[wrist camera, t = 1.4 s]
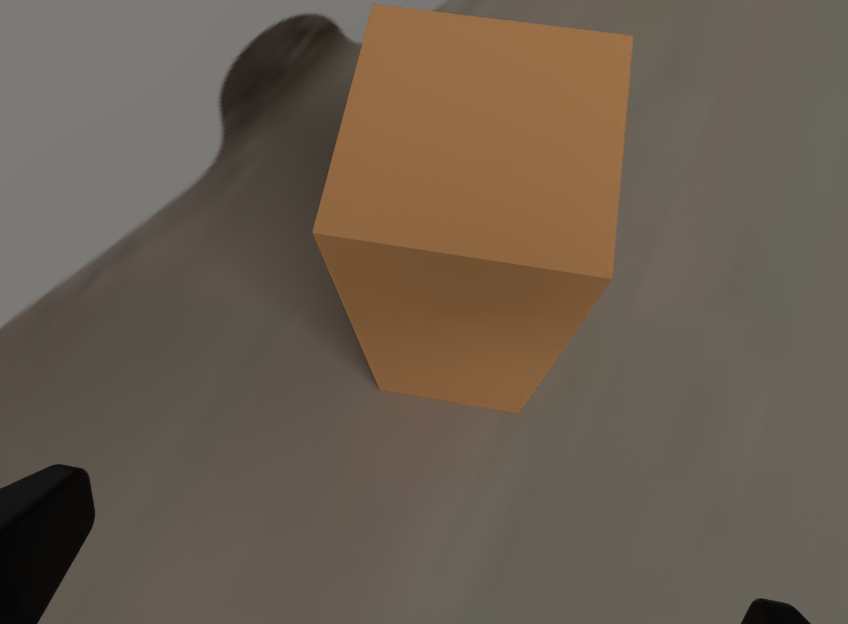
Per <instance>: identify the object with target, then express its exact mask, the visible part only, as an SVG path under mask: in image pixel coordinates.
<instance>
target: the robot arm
mask: <svg viewBox="0 0 848 624" xmlns="http://www.w3.org/2000/svg"><path fill="white" fill-rule="evenodd" d="M94 519H95V508H94V502H93V496H92V490H91V484H90V478H89V475H88V473H87V472H86V471H85V470H84V469H82V468H78V467H72V466H67V465H62V464H56V465H52V466H49V467H47V468H45V469H43V470H40V471H38V472H36V473H34V474H32V475H30V476H27V477H25V478H23V479H21V480H19V481H16V482H14V483H12V484H10V485H8V486H5V487H3V488H1V489H0V624H37V623H38V622H39V620H40V618H41V617H42V615H43V613H44V611H45V610H46V608H47V606H48V604H49V603H50V601H51V599H52V597H53V596H54V594H55V592H56V590H57V589H58V587H59V585H60V583H61V582H62V580H63V578H64V576H65V575H66V573H67V571H68V569H69V568H70V566H71V564H72V562H73V561H74V559H75V557H76V555H77V554H78V552H79V550H80V548H81V547H82V545H83V543H84V541H85V540H86V538H87V536H88V534H89V533H90V531H91V529H92V526H93V523H94ZM741 624H811V623H810V622H809V621H808V620H807V619H806V618H805V617H804V616H803V615H802V614H801V613H800V612H799V611H798V610H797V609H795V608H794V607H793V606H791V605H790V604H787V603H783V602H778V601H773V600H768V599H762V598H759V599H756V600H754V601H753V602H752V603H751V605H750V607H749V609H748V610H747V612H746V614H745V616H744V618H743V620H742V622H741Z"/></svg>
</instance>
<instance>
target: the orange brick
mask: <svg viewBox="0 0 848 624" xmlns="http://www.w3.org/2000/svg"><path fill="white" fill-rule="evenodd" d="M632 44H633V36H630V35H622V34H614V33H606V32H597V31H589V30H581V29H573V28H565V27H557V26H548V25H540V24H532V23H524V22H516V21H507V20H499V19H491V18H483V17H475V16H467V15H458V14H450V13H442V12H434V11H426V10H417V9H409V8H401V7H393V6H385V5H377V4H373V6H372V9H371V13H370V17H369V21H368V25H367V28H366V32H365V36H364V39H363V43H362V47H361V51H360V55H359V58H358V62H357V66H356V70H355V73H354V77H353V81H352V85H351V88H350V92H349V96H348V100H347V104H346V107H345V111H344V115H343V119H342V122H341V126H340V130H339V134H338V138H337V141H336V145H335V149H334V153H333V156H332V160H331V164H330V168H329V171H328V175H327V179H326V183H325V187H324V190H323V194H322V198H321V202H320V205H319V209H318V213H317V217H316V221H315V224H314V228H313V232H312V233H313V236H314V238H315V240H316V243H317V245H318V247H319V250H320V252H321V254H322V257H323V259H324V261H325V264H326V266H327V268H328V271H329V273H330V275H331V278H332V280H333V282H334V285H335V287H336V289H337V292H338V294H339V296H340V299H341V301H342V303H343V306H344V308H345V310H346V313H347V315H348V317H349V319H350V322H351V324H352V326H353V329H354V331H355V333H356V336H357V338H358V340H359V343H360V345H361V347H362V350H363V352H364V354H365V357H366V359H367V361H368V364H369V366H370V368H371V371H372V373H373V375H374V378H375V380H376V382H377V385H378V387H379V389H380V390H382V391H388V392H394V393H400V394H405V395H411V396H417V397H423V398H429V399H434V400H440V401H446V402H452V403H457V404H463V405H469V406H475V407H480V408H486V409H492V410H498V411H503V412H509V413H515V414H519V412H520V411H521V410H522V408H523V407H524V405H525V404H526V402H527V401H528V399H529V398H530V397H531V395H532V394H533V392H534V391H535V389H536V388H537V387H538V385H539V384H540V382H541V381H542V379H543V378H544V376H545V375H546V374H547V372H548V371H549V369H550V368H551V366H552V365H553V364H554V362H555V361H556V359H557V358H558V356H559V355H560V353H561V352H562V351H563V349H564V348H565V346H566V345H567V343H568V342H569V341H570V339H571V338H572V336H573V335H574V333H575V332H576V330H577V329H578V328H579V326H580V325H581V323H582V322H583V320H584V319H585V318H586V316H587V315H588V313H589V312H590V310H591V309H592V307H593V306H594V305H595V303H596V302H597V300H598V299H599V297H600V296H601V294H602V293H603V292H604V290H605V289H606V287H607V286H608V284H609V283H610V282H611V280H612V276H613V265H614V253H615V241H616V230H617V218H618V207H619V195H620V183H621V172H622V160H623V149H624V137H625V125H626V114H627V102H628V91H629V79H630V67H631V56H632Z"/></svg>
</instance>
